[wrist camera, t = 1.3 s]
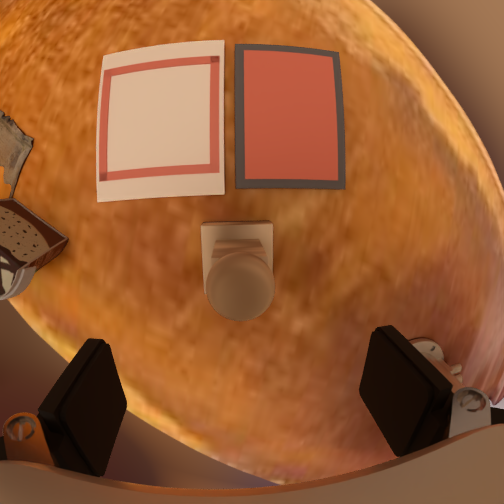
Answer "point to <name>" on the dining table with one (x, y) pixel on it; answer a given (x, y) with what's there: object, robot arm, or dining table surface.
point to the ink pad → (288, 118)
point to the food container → (24, 246)
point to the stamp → (238, 267)
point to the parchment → (12, 150)
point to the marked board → (161, 122)
